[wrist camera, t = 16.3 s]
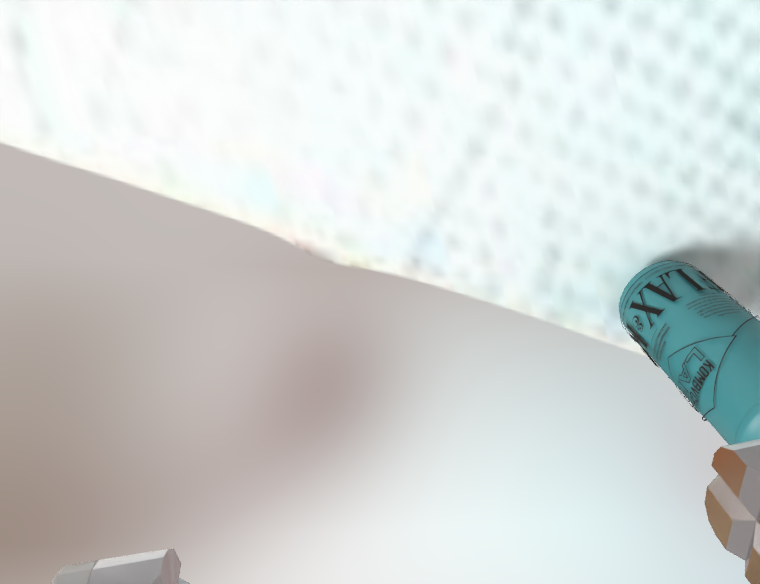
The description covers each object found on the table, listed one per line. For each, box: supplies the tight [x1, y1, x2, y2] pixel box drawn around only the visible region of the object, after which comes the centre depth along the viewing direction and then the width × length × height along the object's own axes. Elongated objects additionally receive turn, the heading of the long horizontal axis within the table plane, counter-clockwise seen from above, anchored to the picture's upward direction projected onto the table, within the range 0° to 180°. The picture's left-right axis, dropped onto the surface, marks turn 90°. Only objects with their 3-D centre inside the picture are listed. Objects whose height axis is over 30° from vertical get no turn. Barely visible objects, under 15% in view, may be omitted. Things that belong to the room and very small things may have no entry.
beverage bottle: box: [619, 261, 760, 445], centre depth 37 cm, size 6×7×20 cm
